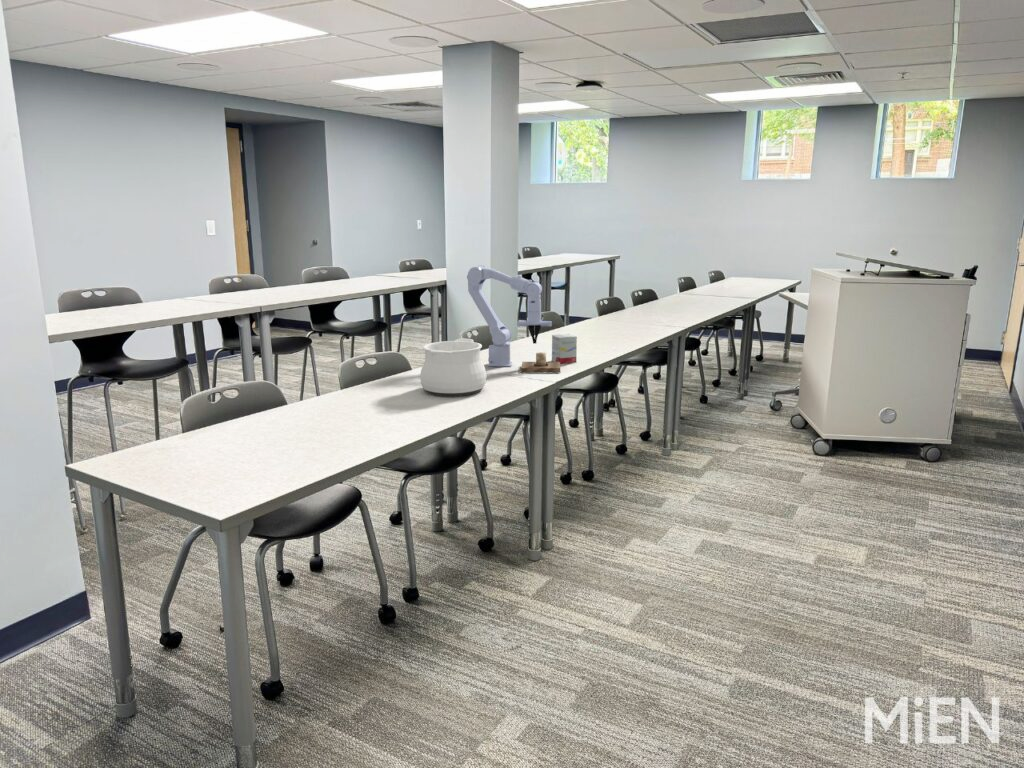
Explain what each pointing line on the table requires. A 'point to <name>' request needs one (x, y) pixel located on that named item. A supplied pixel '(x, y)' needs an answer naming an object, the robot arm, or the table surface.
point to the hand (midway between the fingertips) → (534, 343)
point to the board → (540, 367)
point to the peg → (540, 359)
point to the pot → (453, 368)
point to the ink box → (564, 348)
